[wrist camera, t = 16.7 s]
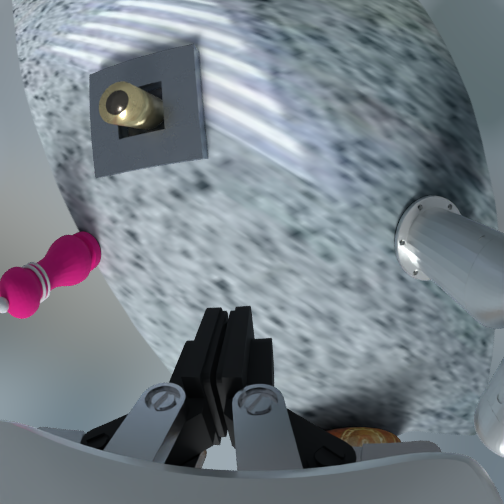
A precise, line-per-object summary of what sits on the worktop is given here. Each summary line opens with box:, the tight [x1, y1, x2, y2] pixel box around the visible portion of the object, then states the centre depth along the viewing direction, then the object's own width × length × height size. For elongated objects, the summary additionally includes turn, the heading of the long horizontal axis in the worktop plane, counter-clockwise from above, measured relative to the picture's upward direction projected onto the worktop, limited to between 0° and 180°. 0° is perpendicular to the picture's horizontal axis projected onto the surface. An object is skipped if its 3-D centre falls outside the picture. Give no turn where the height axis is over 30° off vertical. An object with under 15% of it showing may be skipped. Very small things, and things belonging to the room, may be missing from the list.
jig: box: [90, 44, 208, 178], centre depth 32 cm, size 15×15×3 cm
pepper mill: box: [0, 231, 101, 319], centre depth 30 cm, size 7×7×20 cm
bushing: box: [99, 82, 164, 130], centre depth 29 cm, size 5×5×9 cm
